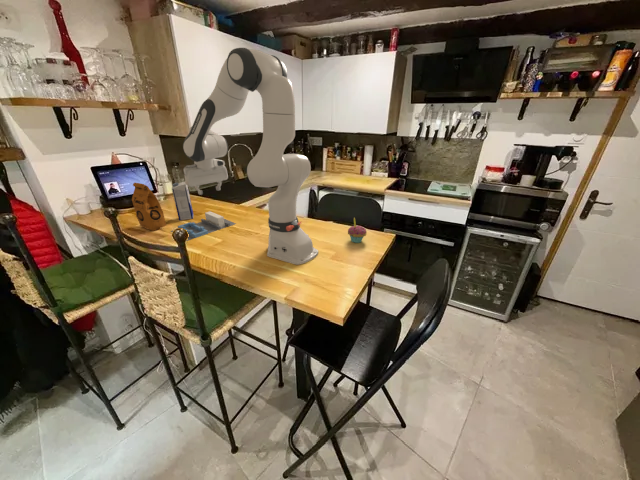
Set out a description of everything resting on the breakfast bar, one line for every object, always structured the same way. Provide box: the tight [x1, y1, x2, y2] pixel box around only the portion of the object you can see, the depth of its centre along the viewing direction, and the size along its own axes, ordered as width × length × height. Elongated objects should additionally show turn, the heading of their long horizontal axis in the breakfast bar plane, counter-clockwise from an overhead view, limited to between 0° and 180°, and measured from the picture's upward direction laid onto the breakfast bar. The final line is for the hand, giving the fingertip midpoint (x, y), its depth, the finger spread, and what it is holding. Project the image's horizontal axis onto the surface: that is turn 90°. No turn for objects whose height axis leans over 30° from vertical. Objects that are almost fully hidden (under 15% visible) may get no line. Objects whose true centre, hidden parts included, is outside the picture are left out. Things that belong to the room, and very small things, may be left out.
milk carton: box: [171, 181, 194, 221], centre depth 137 cm, size 7×7×20 cm
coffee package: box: [131, 182, 167, 232], centre depth 127 cm, size 10×12×22 cm
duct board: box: [170, 218, 237, 242], centre depth 129 cm, size 16×26×3 cm, turn 142°
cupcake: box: [347, 217, 367, 244], centre depth 118 cm, size 9×8×12 cm
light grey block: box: [204, 210, 225, 227], centre depth 133 cm, size 12×3×5 cm, turn 52°
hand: (209, 192), depth 127 cm, fingers open, 8 cm apart
